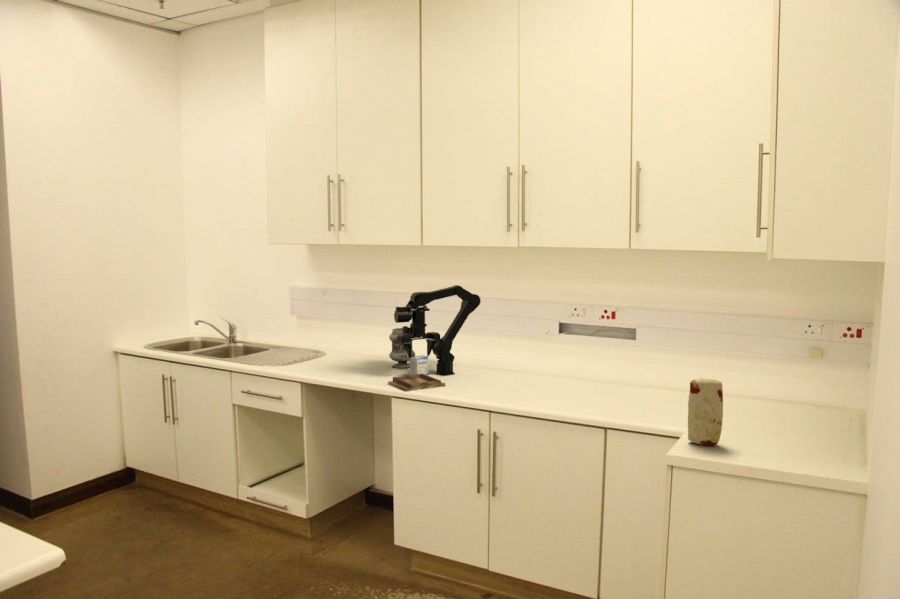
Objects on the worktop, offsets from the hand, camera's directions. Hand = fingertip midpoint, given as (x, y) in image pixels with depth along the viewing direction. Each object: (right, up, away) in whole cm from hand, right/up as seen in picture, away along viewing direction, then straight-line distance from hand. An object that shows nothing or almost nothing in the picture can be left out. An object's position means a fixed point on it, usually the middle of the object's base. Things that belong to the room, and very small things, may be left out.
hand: (419, 357), depth 306 cm
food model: (+89, -18, -97) cm, 133 cm away
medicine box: (0, -9, +1) cm, 9 cm away
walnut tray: (0, -10, -16) cm, 19 cm away
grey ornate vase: (-9, -7, +21) cm, 24 cm away
